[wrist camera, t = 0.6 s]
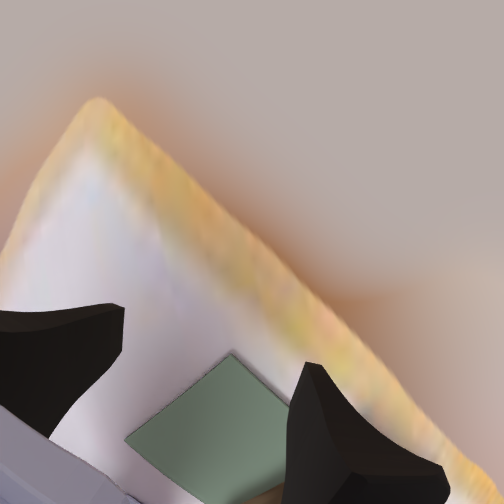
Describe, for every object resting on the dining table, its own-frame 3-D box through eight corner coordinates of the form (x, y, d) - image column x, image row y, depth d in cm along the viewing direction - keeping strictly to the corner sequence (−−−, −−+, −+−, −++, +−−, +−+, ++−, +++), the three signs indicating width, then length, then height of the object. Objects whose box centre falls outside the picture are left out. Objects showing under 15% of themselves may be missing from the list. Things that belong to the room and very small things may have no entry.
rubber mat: (220, 511, 23) (219, 513, 23) (125, 438, 23) (123, 440, 23) (336, 446, 21) (337, 448, 21) (231, 353, 22) (230, 355, 21)
